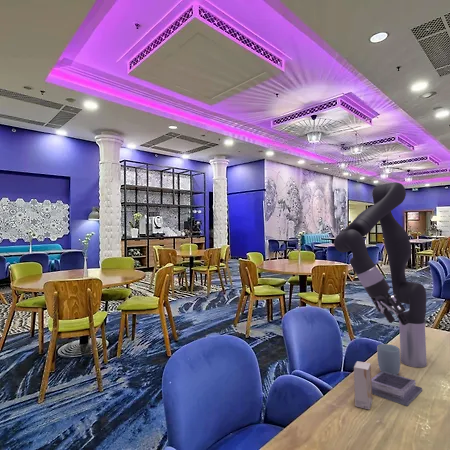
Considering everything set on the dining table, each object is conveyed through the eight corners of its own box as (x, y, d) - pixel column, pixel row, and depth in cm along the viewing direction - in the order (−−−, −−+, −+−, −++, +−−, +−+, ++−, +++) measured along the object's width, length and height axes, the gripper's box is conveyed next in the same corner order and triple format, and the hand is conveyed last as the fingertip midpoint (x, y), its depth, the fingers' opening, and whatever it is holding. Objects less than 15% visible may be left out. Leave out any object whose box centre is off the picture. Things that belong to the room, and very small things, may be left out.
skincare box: (369, 410, 98) (368, 370, 98) (354, 406, 100) (353, 367, 101) (372, 400, 103) (371, 362, 104) (358, 397, 106) (356, 360, 106)
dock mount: (380, 377, 119) (379, 368, 120) (422, 390, 109) (421, 380, 109) (363, 390, 110) (362, 380, 110) (407, 406, 100) (406, 394, 100)
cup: (403, 378, 118) (402, 351, 118) (381, 377, 120) (380, 350, 120) (397, 370, 126) (395, 344, 126) (375, 368, 127) (374, 343, 128)
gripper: (392, 275, 107) (420, 319, 104) (372, 277, 121) (396, 316, 118) (373, 285, 106) (401, 330, 104) (355, 286, 120) (379, 326, 117)
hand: (398, 322), depth 111 cm, fingers open, 8 cm apart
